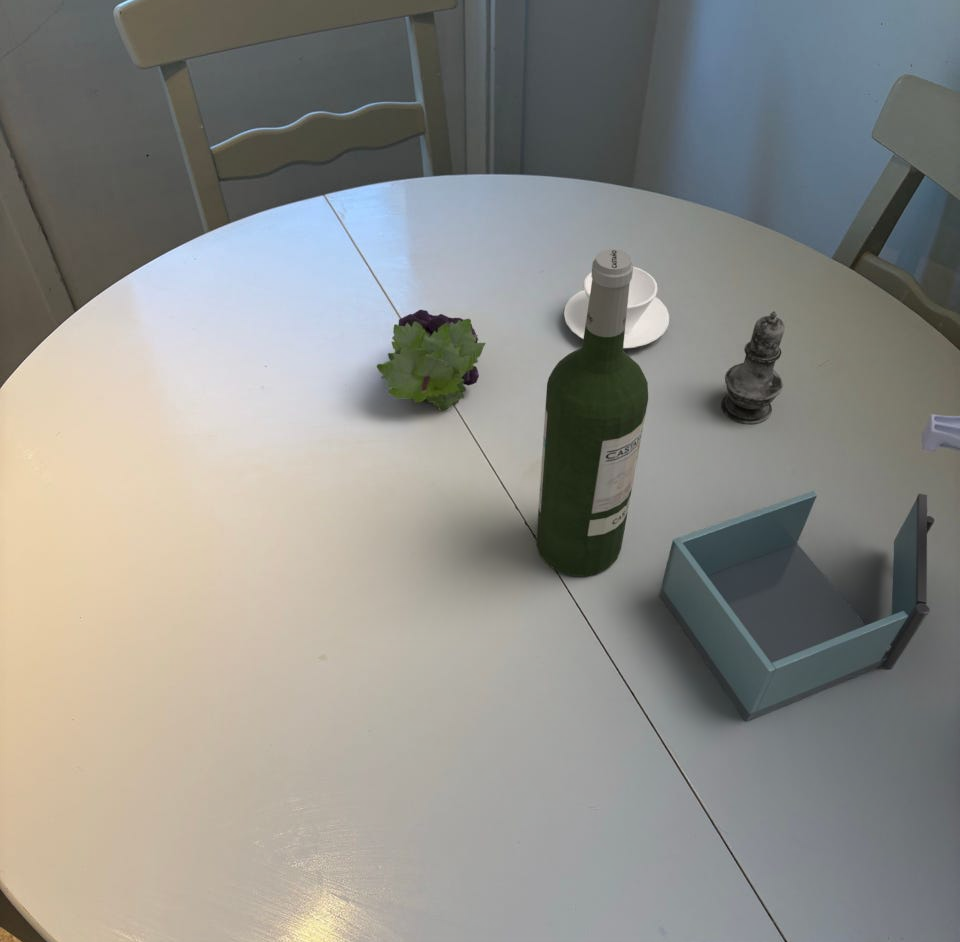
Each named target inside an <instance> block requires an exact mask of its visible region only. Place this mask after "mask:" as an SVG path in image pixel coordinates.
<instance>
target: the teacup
mask: <svg viewBox="0 0 960 942" xmlns="http://www.w3.org/2000/svg"><path fill="white" fill-rule="evenodd" d="M591 284H592V271H590V272H589V273H588V274H587V275H586V277H585V278H584V280H583V289H582V290H580V291H578V292H576V293H575V294H573V296H571V297H570V298H569V300H568V301H567V303H566V304H565V306H564V311H563V312H564V313H563V316H564V321H565V323H566V325H567V326H568V328H569V330H570V331H571V332H572V333H574V334H575V335H576V336H577V337H579V338H580V339H582V340H583V339H584V332H585V325H586V318H587V312H588V305H589V298H590V291H591ZM658 290H659V289H658V284H657V281H656V280H655V278H654V277H653V276H652V275H651V274H650V273H648V272H647V271H645V270H644V269H642V268H639V267H636V266H633V273H632V279H631V281H630V285H629V295H628V305H627V315H626V325H625V335H624V345H623V349H635V348H639V347H642V346H643V347H644V346H646V345H648V344H651V343H653V342H655V341H657V340H658V339H659V338H660V337H662V336H663V335H664V334H665V333H666V330H667V329H668V327H669V325H670V314H669V310H668V308H667V306H666V305H665V304H664V303H663V302H662V300H661V299H659V297H657V293H658Z"/></svg>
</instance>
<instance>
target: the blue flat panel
mask: <svg viewBox="0 0 960 942" xmlns="http://www.w3.org/2000/svg"><path fill="white" fill-rule="evenodd" d="M934 523H935V518H934V517H933V516H932V515H928V495H927V494H925V493H918V494H917V496H916V499H915V501H914V503H913V504H912V507H911V508H910V511H909V512H908V514H907V516H906V517H905V520H904V521H903V522H902V525H901V527H900V529H899V531H898V533H897V534H896V536H895V538H894V540H893V558H892V559H893V560H892V563H893V564H892V588H891V590H892V592H891V593H892V594H891V615H894V614H896V613H899V612H901V611H904V612H905V613H906V614H907V615H908V617H907V619H906V621H907V620H908V618H909V617H910V615H911V613H912V612H913V610H914V609H915V607H916V605H917V604H919V603H923V604H926V605H927V603H928V594H927V593H928V592H927V591H928V533H929V532H930V530H931V528H932V526H933V525H934ZM906 621H905V622H904V624H903V625H902V627H901V629H900V630H899V632H898V633H897V635H896V637H895V638H894V640H893V641H892V643H891V645H890V647H891V646H892V644H893V642H894V641H895V639H896V638H897V636H898V634H899V633H900V631H901V630H902V628H903V626H904V625H905V623H906Z"/></svg>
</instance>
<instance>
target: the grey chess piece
mask: <svg viewBox="0 0 960 942" xmlns="http://www.w3.org/2000/svg"><path fill="white" fill-rule="evenodd" d="M785 326H786V325H785V324H784V322H783V320H782V319H781V318H779V317H778V315H777V313H776V311H771V312H770V313H769V315H764V316H762V317H760V318H758V319H757V321H755V324H754V327H753V330H752V334H751V337H750V341H748V342H747V343H746V344H745V346H744V349H743V351H744V353H745V357H744V360H743V362H741V363H738V364H735V365H733V366H731V367H730V368H729V369H728V370H727V371H726V373H725V376H724V381H725V385H726V391H727V393H726V394H725V395H724V396H723V397H722V399H721V402H720V407H721V410H722V412H723V413H724V414H725V415H726V417H728V418H729V419H730V420H732V421H734V422H737V423H740V424H743V425H758V424H761V423H763V422H766V421H767V420H768V419H769V418H770V416H771V415H772V412H773V407H772V404H771V403H772V402H773V401H774V400H775V399H776V398H777V396H779V395H780V394H781V392H782V390H783V389H784V388H783V387H784V380H783V379H782V377H781V374H780V373H778V372H777V371H776V370H775V365H776V362H777V361H778V360H779V359H780V358H781V356H782V350H781V347H780V346H781V342H782V339H783V336H784V333H785V329H786V327H785Z"/></svg>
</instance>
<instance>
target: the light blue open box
mask: <svg viewBox="0 0 960 942" xmlns="http://www.w3.org/2000/svg"><path fill="white" fill-rule="evenodd" d="M817 496H818V495H817V493H815V491H813V490H811V491H809V492H806V493H803V494H801V495H797V496H794V497H791V498H789V499H786V500H783V501H780V502H777V503H774V504H772V505H769V506H765V507H762V508H760V509H757V510H754V511H751V512H749V513H746V514H743V515H739V516H736V517H734V518H731V519H727V520H725V521H723V522H719V523H716V524H714V525H711V526H708V527H706V528H702V529H700V530H696V531H693V532H691V533H687V534H684V535H682V536H680V537H676V538H674V539H672V541H671V546H670V548H669V549H670V550H669V552H668V557H667V562H666V566H665V570H664V573H663V578H662V582H661V587H660V591H659V596H660V598H661V599H662V601H663V602H664V603H665V605H666V606H667V608H668V609H669V611H670V612H671V614H672V615H673V617H674V618H675V619H676V621H677V623H678V624H679V625H680V627H681V629H682V630H683V631H684V633H685V634H686V635H687V637H688V638H689V640H690V641H691V643H692V644H693V646H694V647H695V648H696V650H697V651H698V653H699V654H700V656H701V657H702V659H703V661H704V662H705V663H706V665H707V666H708V668H709V669H710V671H711V672H712V674H713V675H714V676H715V678H716V680H717V681H718V682H719V684H720V685H721V686H722V688H723V689H724V691H725V692H726V694H727V695H728V697H729V698H730V700H731V701H732V703H733V704H734V706H735V707H736V709H737V710H738V712H739V713H740V714H741V716H742V717H743V719H744V720H745V722H749V721H752V720H754V719H757V718H759V717H761V716H763V715H766V714H769V713H771V712H773V711H775V710H778V709H780V708H783V707H786V706H788V705H791V704H793V703H795V702H798V701H800V700H802V699H805V698H807V697H810V696H813V695H814V694H817V693H819V692H822V691H824V690H827V689H829V688H831V687H834V686H836V685H840V684H841V683H843V682H844V683H845V682H846V681H848V680H851V679H854V678H856V677H859V676H861V675H863V674H866V673H868V672H870V671H873V670H875V669H878V668H881V667H883V668H885V669H889V670H890V669H892V668H894V667H895V665H896V664H897V662H898V661H899V659H900V658H901V656H902V654H903V653H904V651H905V650H906V649H907V647H908V645H909V643H911V641H912V639H913V637H914V636H915V635H916V633H917V631H918V630H919V628H920V627H921V625H922V623H923V622H924V621H925V619H926V617H927V616H928V614H929V613H930V607H929V605H927V603H926V604H923V603H919V604H917V605H916V607H915V609H914V610H913V612H912V613H911V615H910V617H909V618H908V620H907V621H906V619H907V617H908V615H907V614H906V613H905V612H904V611H901V612H899V613H896V614H894V615H892V614H891V615H889V616H886V617H884V618H881V619H879V620H876V621H874V622H871V623H869V624H866V623H865V622H864V621H863V620H862V618H861V617H859V615H858V614H857V613H856V612H855V610H854V608H852V606H850V605H849V603H848V602H847V601H846V599H844V597H843V596H842V595H841V593H839V592H838V590H837V589H836V587H834V585H833V584H832V583H831V582H830V581H829V579H828V578H827V577H826V575H824V574H823V572H822V571H821V570H820V568H819V567H818V566H817V565H816V564H815V563H814V562H813V561H812V560H813V559H811V558H810V557H809V556H808V554H807V553H806V552H805V551H804V550H803V548H802V547H801V546H800V545H799V543H798V542H799V540H800V537H801V535H802V532H803V531H804V529H805V525H806V523H807V521H808V518H809V516H810V513H811V511H812V510H813V509H812V508H813V506H814V503H815V502H816V499H817ZM905 621H906V623H905V625H904V626H903V628H902V630H901V631H900V633H899V634H898V636H897V638H896V639H895V641H894V642H893V644H892V646H891V643H892V641H893V640H894V638H895V637H896V635H897V633H898V632H899V630H900V629H901V627H902V625H903V624H904V622H905Z"/></svg>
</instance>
